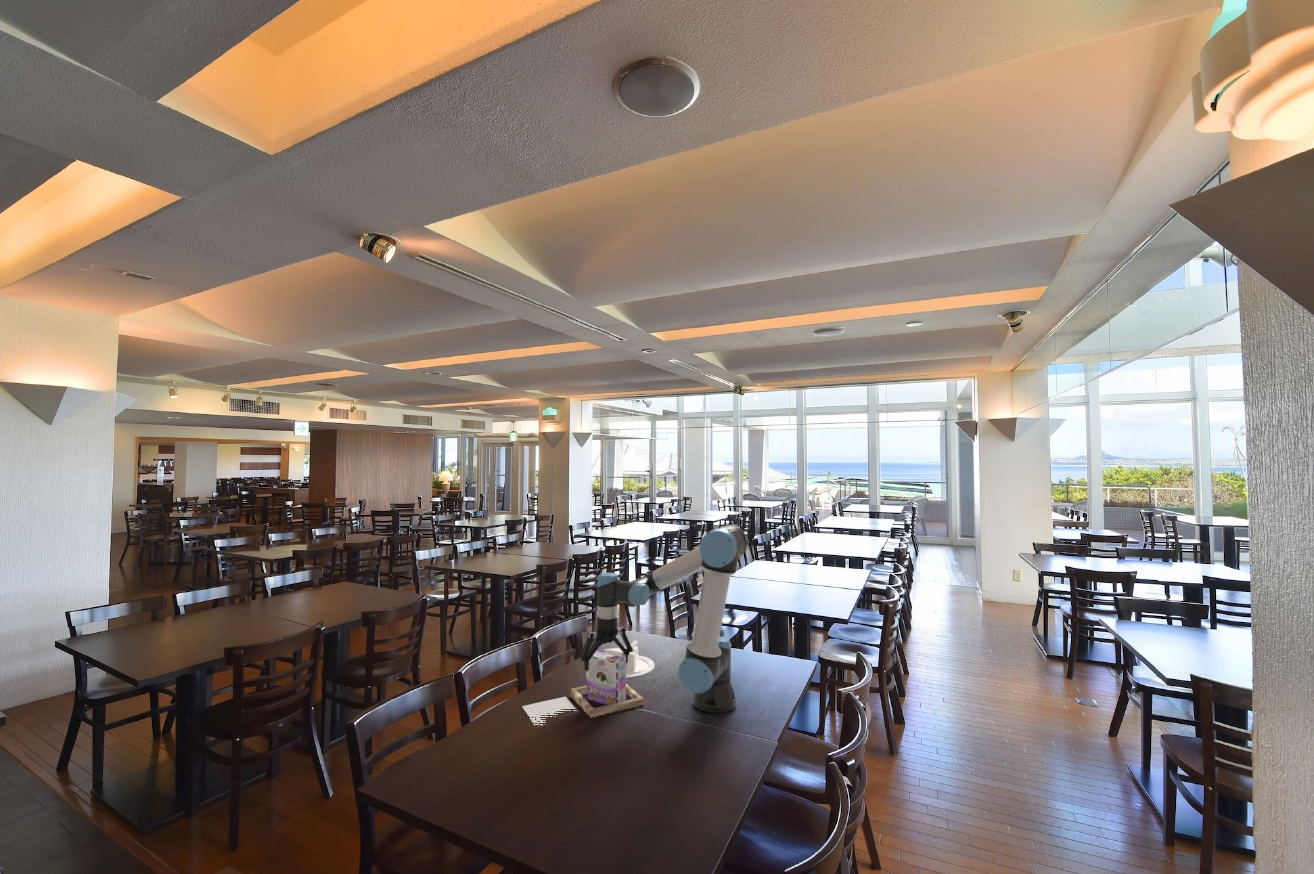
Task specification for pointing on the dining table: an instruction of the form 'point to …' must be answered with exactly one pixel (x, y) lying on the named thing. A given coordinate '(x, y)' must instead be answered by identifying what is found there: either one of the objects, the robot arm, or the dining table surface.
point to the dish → (634, 661)
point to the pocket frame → (593, 712)
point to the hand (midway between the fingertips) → (606, 675)
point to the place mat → (547, 709)
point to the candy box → (607, 678)
